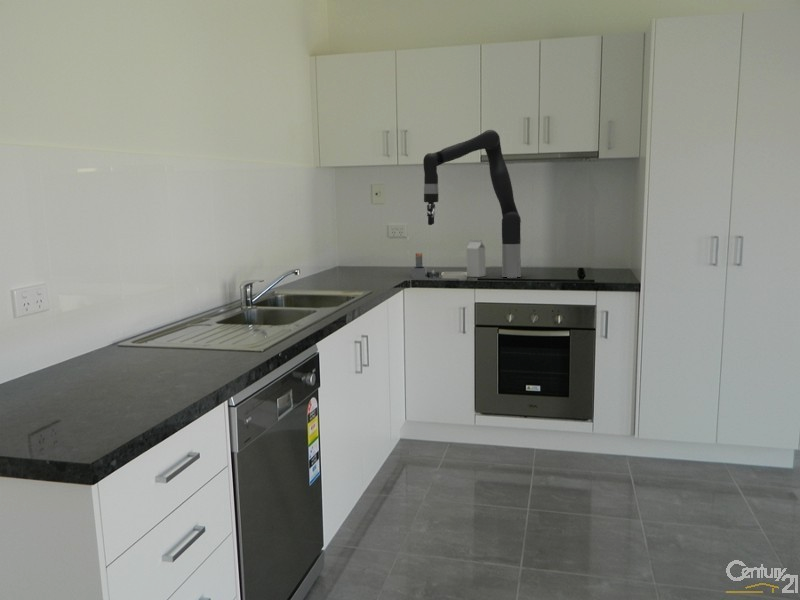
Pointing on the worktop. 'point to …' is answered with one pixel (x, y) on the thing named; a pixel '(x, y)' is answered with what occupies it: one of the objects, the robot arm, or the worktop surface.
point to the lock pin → (418, 260)
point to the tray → (455, 275)
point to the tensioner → (424, 273)
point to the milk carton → (475, 259)
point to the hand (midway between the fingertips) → (431, 224)
